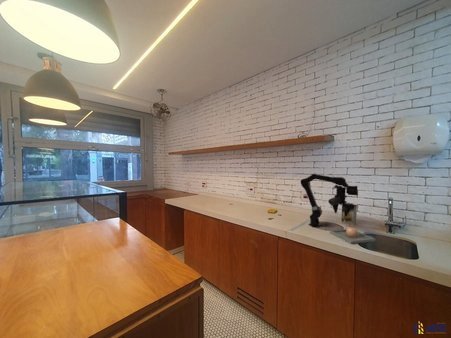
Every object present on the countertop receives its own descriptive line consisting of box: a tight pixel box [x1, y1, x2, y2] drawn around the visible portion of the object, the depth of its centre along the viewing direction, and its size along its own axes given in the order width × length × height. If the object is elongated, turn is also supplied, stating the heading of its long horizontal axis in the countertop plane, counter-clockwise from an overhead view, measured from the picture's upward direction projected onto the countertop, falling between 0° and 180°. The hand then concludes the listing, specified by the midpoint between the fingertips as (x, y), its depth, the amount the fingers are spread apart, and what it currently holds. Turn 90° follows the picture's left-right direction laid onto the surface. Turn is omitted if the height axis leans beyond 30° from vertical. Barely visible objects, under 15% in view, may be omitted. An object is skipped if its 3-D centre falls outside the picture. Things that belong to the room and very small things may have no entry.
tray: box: [329, 228, 376, 245], centre depth 125 cm, size 18×18×2 cm
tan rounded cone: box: [345, 225, 358, 238], centre depth 125 cm, size 6×6×6 cm
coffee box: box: [341, 204, 358, 226], centre depth 153 cm, size 9×6×16 cm
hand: (340, 214), depth 137 cm, fingers open, 9 cm apart
